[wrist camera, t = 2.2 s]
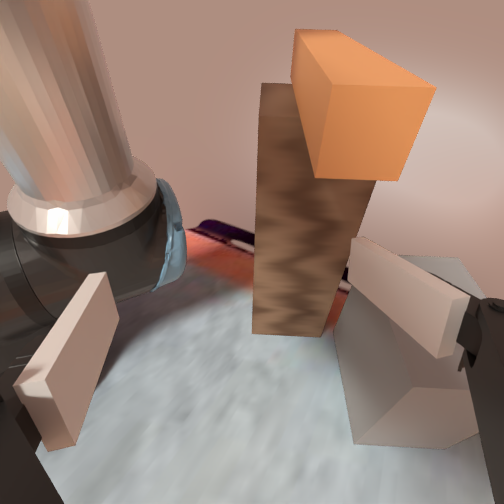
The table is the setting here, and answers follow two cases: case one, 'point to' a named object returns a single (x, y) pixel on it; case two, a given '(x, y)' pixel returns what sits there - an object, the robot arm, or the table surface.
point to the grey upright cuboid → (403, 373)
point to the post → (298, 224)
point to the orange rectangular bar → (355, 107)
